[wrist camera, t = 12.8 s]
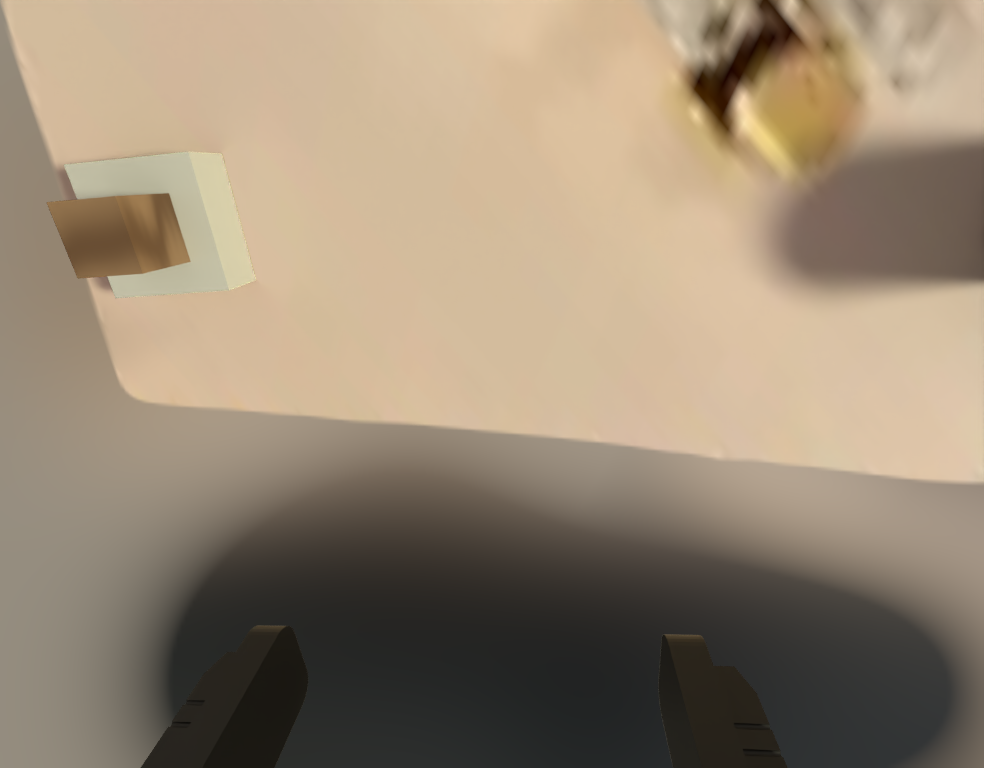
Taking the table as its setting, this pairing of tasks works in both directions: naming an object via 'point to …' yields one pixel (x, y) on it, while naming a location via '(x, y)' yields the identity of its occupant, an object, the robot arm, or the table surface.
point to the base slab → (199, 212)
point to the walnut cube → (120, 234)
